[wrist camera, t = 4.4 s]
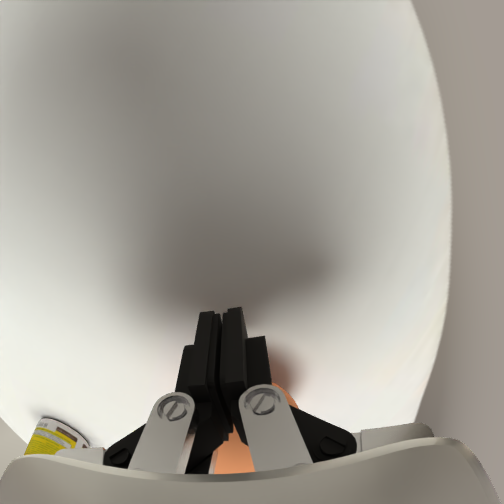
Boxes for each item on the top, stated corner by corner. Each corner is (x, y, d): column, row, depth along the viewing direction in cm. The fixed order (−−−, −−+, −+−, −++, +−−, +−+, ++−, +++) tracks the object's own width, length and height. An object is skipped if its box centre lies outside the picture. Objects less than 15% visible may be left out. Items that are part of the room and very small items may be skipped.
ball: (148, 461, 9) (184, 431, 15) (269, 518, 8) (268, 472, 14) (205, 355, 11) (226, 354, 17) (336, 415, 10) (313, 395, 15)
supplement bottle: (30, 412, 17) (-4, 491, 7) (67, 418, 17) (33, 512, 7) (63, 445, 19) (40, 519, 9) (102, 451, 19) (81, 536, 9)
